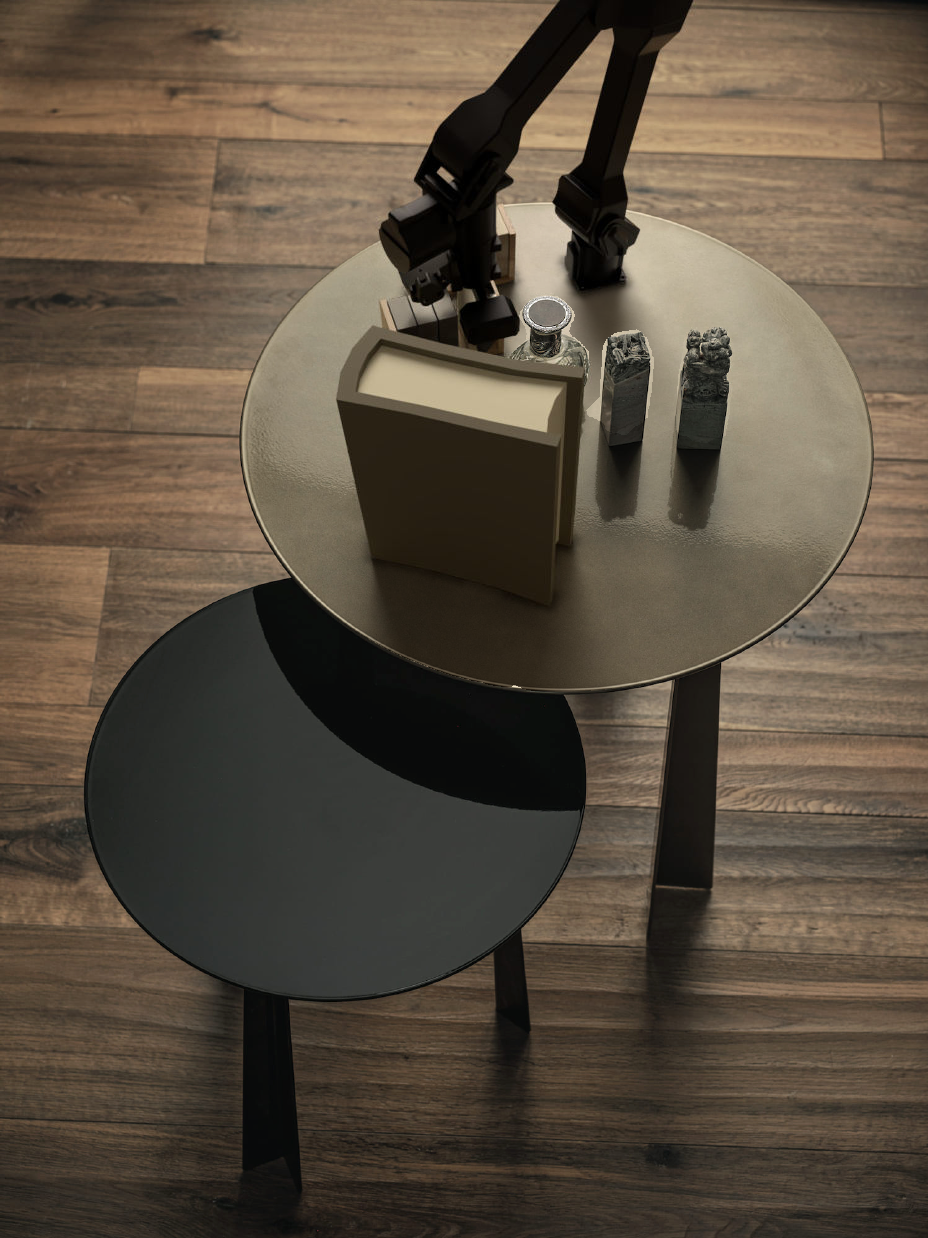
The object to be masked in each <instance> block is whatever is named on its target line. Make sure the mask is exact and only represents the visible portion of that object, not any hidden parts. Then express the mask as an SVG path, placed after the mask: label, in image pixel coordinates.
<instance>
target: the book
mask: <svg viewBox="0 0 928 1238" xmlns="http://www.w3.org/2000/svg"><path fill="white" fill-rule="evenodd" d="M586 369H587V367H586V366H578V365H577V366H576V365H568V364H558V363H550V362H541V361H531V360H524V359H523V360H522V359H521V360H520V359H516V358H510V357H505V356H500V355H498V354H495V355H492V354H488V353H483V352H479V351H474V350H470V349H465V348H460V347H456V346H451V345H447V344H442V343H438V342H434V341H431V340H427V339H423V338H419V337H415V336H411V335H408V334H404V333H400V332H396V331H392V330H388V329H385V328H382V326H381V327H380V326H377V325H374V324H373V325H371V326H370V327H369V328H368V329H367V331H365V332H364V334H363V335H362V336H361V338H360V339H359V340H358V341H357V342H356V343H355V344H354V345H353V346H352V348H351V350H350V352H349V354H348V356H347V358H346V360H345V361H344V364H343V367H342V368H341V370H340V373H339V379H338V385H337V391H336V396H335V397H336V398H335V401H336V405H337V409H338V414H339V419H340V423H341V427H342V432H343V436H344V440H345V445H346V450H347V454H348V459H349V463H350V469H351V471H352V476H353V480H354V485H355V490H356V493H357V499H358V503H359V508H360V512H361V517H362V520H363V526H364V530H365V534H366V538H367V543H368V548H369V552H370V556H371V558H373V559H377V560H383V561H387V562H391V563H396V564H402V565H405V566H410V567H415V568H419V569H425V570H429V571H433V572H437V573H441V574H444V575H449V576H452V577H456V578H459V579H463V580H466V581H472V582H474V583H475V582H476V583H480V584H483V585H486V586H491V587H494V588H497V589H499V590H503V591H506V592H508V593H511V594H514V595H516V596H519V597H521V598H525V599H527V600H530V601H533V602H536V603H539V604H540V605H544V606H547V607H551V605H552V601H553V598H554V588H555V587H554V585H555V567H556V566H555V564H556V548H557V547H556V546H557V544H558V545H561V546H565V547H569V548H571V545H572V542H573V539H574V528H575V515H576V502H577V489H578V475H579V464H580V463H579V461H580V449H581V437H582V436H581V434H582V421H583V410H584V409H583V408H584V397H585V384H586V383H585V381H586Z"/></svg>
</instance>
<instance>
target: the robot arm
mask: <svg viewBox="0 0 928 1238" xmlns="http://www.w3.org/2000/svg"><path fill="white" fill-rule="evenodd" d="M693 3H694V0H558V1H557V2H556V4H555V5H554V6H553V7H552V9H551V10H550V11H549V13H548V14H547V15H546V16H545V18H544V19H543V20H542V21H541V22H540V24H539V25H538V27H537V28H536V29H535V30H534V32H533V33H532V34H531V35H530V37H529V38H528V39H527V40H526V42H524V44H523V45H522V46H521V48H520V49H519V50H518V51H517V53H516V54H515V55H514V57H513V58H512V59H511V61H509V63H508V64H507V66H506V67H505V68H504V69H503V71H502V72H501V73H500V74H499V76H498V77H497V78H496V80H495V81H494V82H493V83H492V84H491V85H490V86H489V87H488V88H487V89H486V90H485V91H484V92H481V93H479V94H476V95H474V96H471V97H469V98H467V99H465V100H463V101H462V102H461V103H459V104H458V106H457V107H456V108H455V109H454V110H452V112H450V114H449V115H448V116H447V117H446V118H445V119H444V120H443V121H442V122H441V123H440V124H439V125H438V127H437V129H436V130H435V132H434V134H433V136H432V140H431V143H430V144H429V145H428V148H427V150H426V153H425V154H424V156H423V159H422V160H421V163H420V165H419V167H418V169H417V171H416V173H415V175H414V177H413V182H414V183H415V184H416V185H417V186H418V187H419V188H420V189H421V194H422V196H420V197H418V198H416V199H414V200H412V201H411V202H408V203H407V204H404V205H402V206H399V207H396V208H394V209H392V210H390V211H389V212H388V214H387V219H385V220H383V221H382V222H381V223H380V227H379V229H378V237H379V240H380V244H381V247H382V249H383V251H384V253H385V255H386V257H387V258H388V260H389V262H390V263H391V264H392V265H393V267H394V268H395V269H396V270H397V272H398V275H399V277H400V280H401V283H402V285H403V287H404V288H405V290H406V291H407V293H408V294H409V295H410V297H411V300H412V302H414V303H421V305H422V306H429V305H431V304H433V303H435V302H437V301H439V300H441V299H443V297H444V295H445V293H444V289H446V288H447V287H448V286H449V284H450V288H451V291H452V293H454V292H455V294H454V295H455V297H456V298H457V292H458V291H462V290H463V287H464V288H465V289H471V290H472V292H473V295H474V297H475V299H476V301H474V302H469V303H466V304H465V305H464V306H463V307H462V309H461V310H460V311H459V316H460V320H459V322H460V325H461V327H462V330H463V332H464V335H465V337H466V340H467V342H468V343H469V344H471V345H476V347H477V351H479V352H483V353H486V352H488V350H489V349H490V348H491V346H492V345H493V344H494V343H495V341H496V340H499V339H504V340H505V339H507V338H512V337H516V336H518V334H519V333H520V329H521V318H520V316H519V314H518V311H517V310H516V309H517V308H516V306H515V305H514V303H513V300H512V298H511V297H509V296H507V295H505V294H499V296H496V293H495V291H494V288H493V286H492V284H491V281H492V280H496V279H500V278H501V270H500V268H499V265H498V263H497V261H496V252H499V251H502V244H501V241H500V239H499V237H498V234H497V232H496V215H497V205H498V204H497V202H498V201H497V200H498V199H497V198H498V196H497V195H498V193H499V192H500V191H503V190H504V189H507V188H508V187H510V186H512V185H513V184H514V182H515V180H514V178H513V177H512V176H511V175H510V174H508V172H507V170H508V168H509V167H510V165H511V164H512V163H513V161H514V159H515V158H516V156H517V155H518V154H519V149H520V143H521V139H522V134H523V129H524V128H525V126H526V125H527V123H528V122H529V120H530V119H531V117H533V115H534V114H535V113H536V112H537V110H538V109H539V108H540V107H541V106H542V105H543V103H544V102H545V101H546V99H547V98H548V97H549V96H550V94H551V93H552V92H553V91H554V89H555V88H556V87H557V86H558V85H559V83H560V82H561V81H562V80H563V78H564V77H565V76H566V75H567V73H568V72H569V71H570V70H571V69H572V67H573V66H574V65H575V64H576V62H577V61H578V60H579V59H580V57H581V56H582V55H583V54H584V52H585V51H586V50H587V49H588V48H589V46H590V45H591V44H592V43H593V42H594V40H595V39H596V37H598V35H599V34H600V33H601V32H602V31H608V30H612V35H613V43H612V47H611V51H610V55H609V58H608V62H607V67H606V69H605V73H604V77H603V81H602V85H601V89H600V92H599V97H598V100H597V103H596V108H595V111H594V115H593V118H592V123H591V126H590V129H589V133H588V137H587V140H586V141H587V142H586V145H585V149H584V153H583V157H582V159H581V162H580V163H579V164H578V165H577V166H576V167H574V168H573V169H572V170H571V171H570V172H569V173H566V174H561V176H560V177H559V178H558V183H557V189H556V193H555V196H554V197H553V199H552V204H553V205H554V214H555V215H556V216H557V218H558V219H559V220H560V221H561V222H562V223H563V224H565V225H566V226H567V227H568V228H569V229H570V230H571V238H570V241H567V243H566V251H565V256H564V258H563V259H564V262H565V268H566V270H567V273H568V276H569V277H570V279H571V280H573V281H574V284H575V286H576V288H577V290H578V291H579V292H580V293H584V292H589V291H594V290H597V289H602V288H607V287H610V286H615V285H618V284H623V283H626V281H627V275H626V273H625V270H624V269H623V265H624V257H625V256H626V255H627V254H628V253H627V252H628V250H629V248H631V247H632V246H634V245H635V244H636V242H637V239H638V238H639V235H640V232H641V228H640V227H638V226H637V225H636V224H635V223H634V222H633V221H632V220H630V219H629V218H628V217H626V215H627V209H628V205H629V194H628V191H627V185H626V180H625V175H624V171H625V167H626V164H627V161H628V157H629V154H630V151H631V147H632V145H633V141H634V137H635V133H636V130H637V127H638V124H639V121H640V117H641V115H642V114H641V113H642V111H643V107H644V104H645V100H646V97H647V95H648V94H647V93H648V91H649V87H650V84H651V80H652V77H653V74H654V71H655V66H656V63H657V60H658V57H659V54H660V52H661V50H662V49H663V48H664V47H665V46H667V44H669V42H671V41H672V40H673V39H674V38H675V37H676V36H677V35H678V34H679V33H680V32H681V31H682V28H683V27H684V24H685V22H686V19H687V17H688V14H689V12H690V10H691V7H692V5H693ZM441 168H442V169H443V170H444V171H445V172H446V173H448V175H450V176H451V177H452V180H451V181H450V182H448V181H447V180H446V179H445V178H443V176H442V175H440V174H439V173H438V172H439V170H440V169H441Z"/></svg>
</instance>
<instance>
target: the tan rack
mask: <svg viewBox="0 0 928 1238" xmlns="http://www.w3.org/2000/svg"><path fill="white" fill-rule="evenodd" d="M491 284H492V286H493V288H494V291H495V293H496V296H499V295H500V293H499V291H498V288H497V285H495V283H494V280H492V281H491ZM444 293H445V295H444V297H443V299H441V300H439V301H437V302H435V303H433V304H431V305H429V306H422V305H421V303H414V302H412V300H411V297H410V294H409V295H403V296H400V297H394V298H390V299H386V298H382V299H379V300H378V304H379V312H380V322H381V328H385V329H388V330H392V331H396V332H400V333H404V334H408V335H411V336H415V337H419V338H423V339H427V340H431V341H434V342H438V343H442V344H447V345H451V346H456V347H460V348H465V349H467V347H466V345H465V342H464V340H463V337H462V334H461V332H460V329H459V327H458V311H457V309H456V308H455V307H456V306H455V305H454V302H453V300H452V297H451V295H449V292H448V290H447V288H446V289H444ZM504 352H505V338H504V339H499V340H496V341H495V343H494V344H493V345H492V346H491V348H490V349H489V350H488V352H486V353H488V354H492V355H498V354H502V353H504Z"/></svg>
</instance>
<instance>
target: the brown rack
mask: <svg viewBox="0 0 928 1238" xmlns="http://www.w3.org/2000/svg"><path fill="white" fill-rule="evenodd" d="M496 232H497V234H498V237H499V239H500V241H501V244H502V251H499V252H496V261H497V263H498V265H499V268H500V270H501V278H500V279H496V280H494V283H495V285H496V286H497V285H501V284H505V283H508V282H513V281H515V280H516V279H515V278H516V251H517V250H516V249H517V248H516V247H517V244H516V243H517V232H516V230H515V228H514V225H513V224H512V221H511V219H510V217H509V214H508V212H507V210H506V208H505V205H504V203H499V204H497V215H496ZM447 290H448V292H449V295H450V296H454V295H456V294H455V292H454V293H452V291H451V288H450V284H449V286H448V287H447Z"/></svg>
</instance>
